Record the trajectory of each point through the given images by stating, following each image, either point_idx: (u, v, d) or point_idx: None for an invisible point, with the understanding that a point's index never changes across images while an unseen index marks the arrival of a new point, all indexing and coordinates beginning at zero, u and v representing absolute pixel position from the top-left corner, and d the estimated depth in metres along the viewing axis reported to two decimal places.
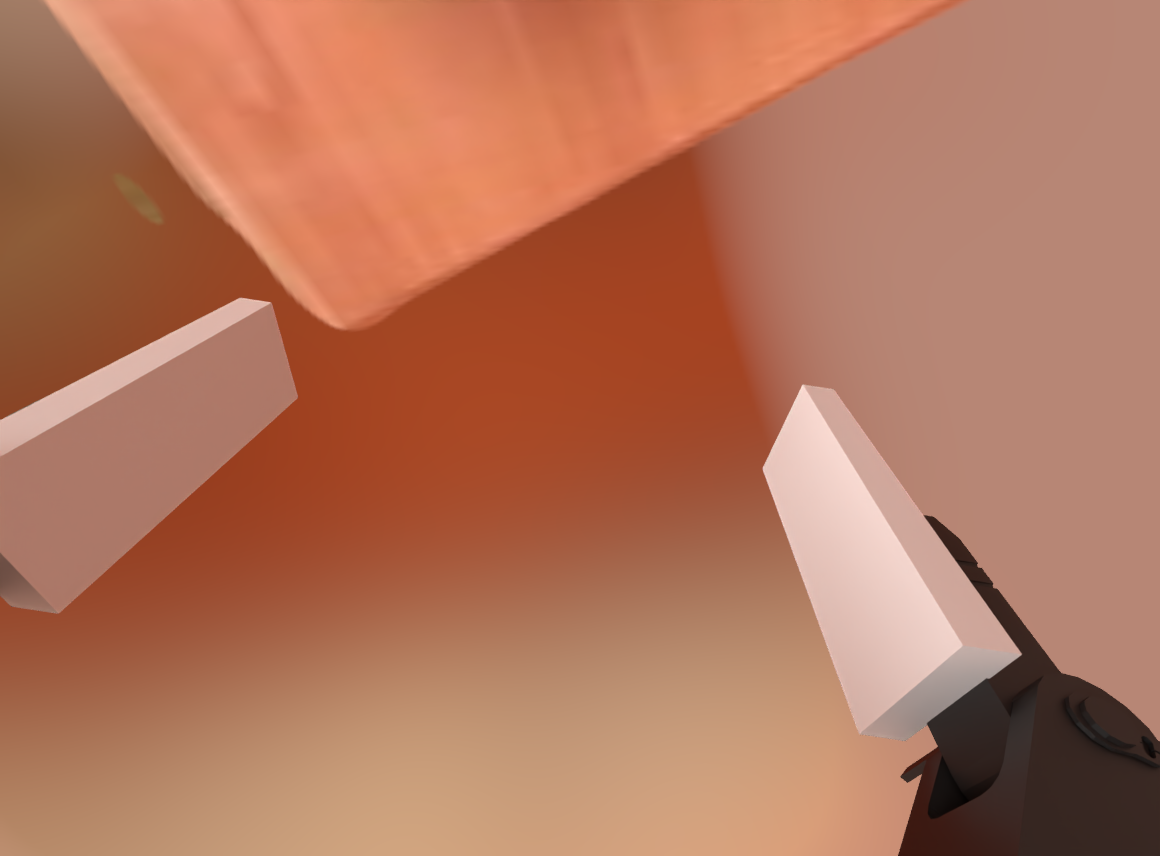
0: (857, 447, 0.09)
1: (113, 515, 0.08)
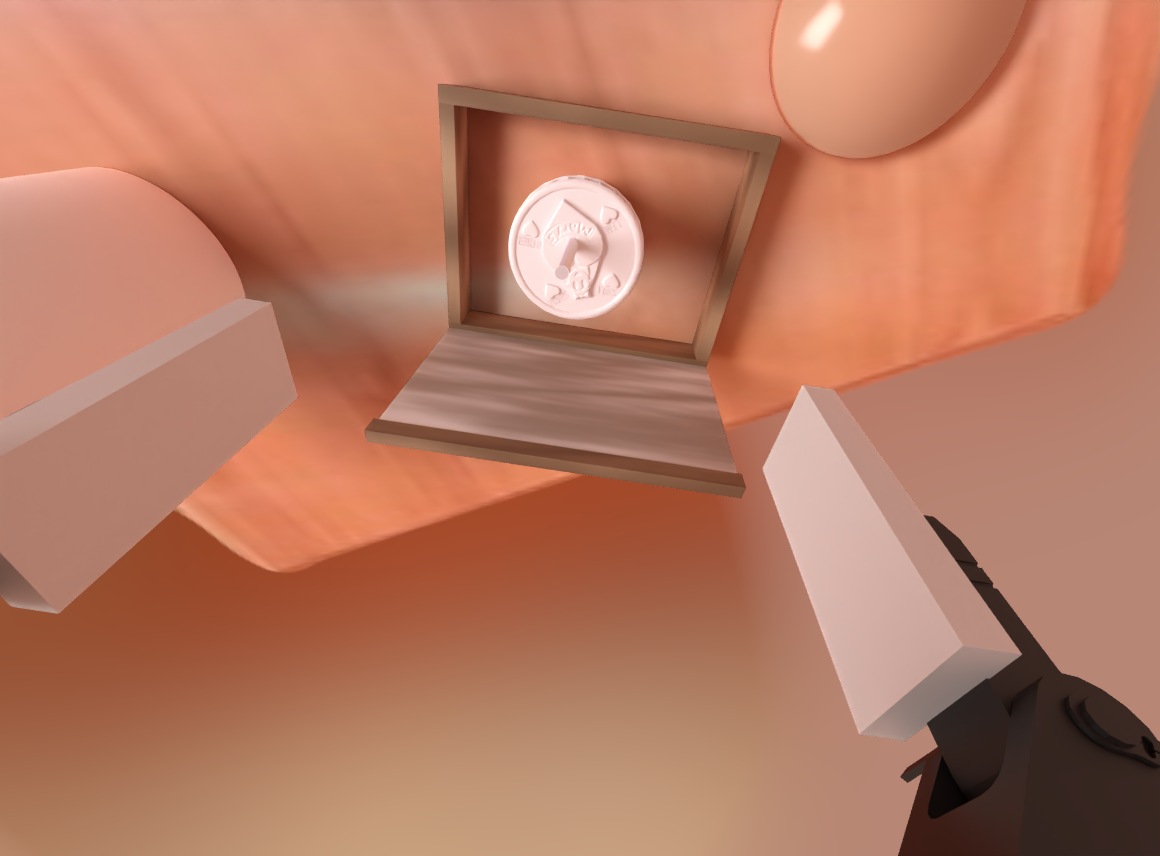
0: (857, 447, 0.09)
1: (113, 515, 0.08)
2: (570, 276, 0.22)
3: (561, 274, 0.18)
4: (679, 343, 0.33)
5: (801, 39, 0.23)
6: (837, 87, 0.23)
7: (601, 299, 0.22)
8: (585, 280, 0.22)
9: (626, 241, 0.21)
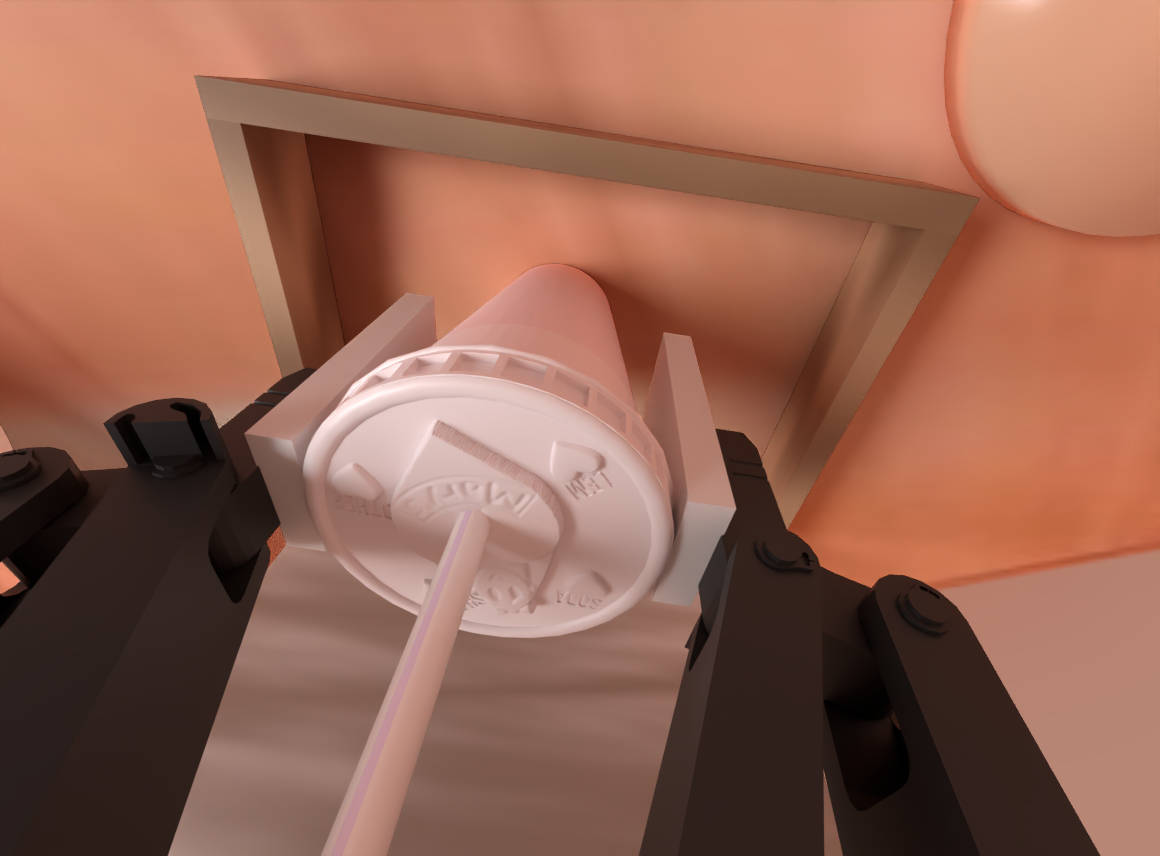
0: (685, 376, 0.11)
1: None
2: (479, 579, 0.08)
3: None
4: None
5: None
6: (1116, 85, 0.10)
7: (564, 611, 0.09)
8: (519, 587, 0.08)
9: (625, 510, 0.08)
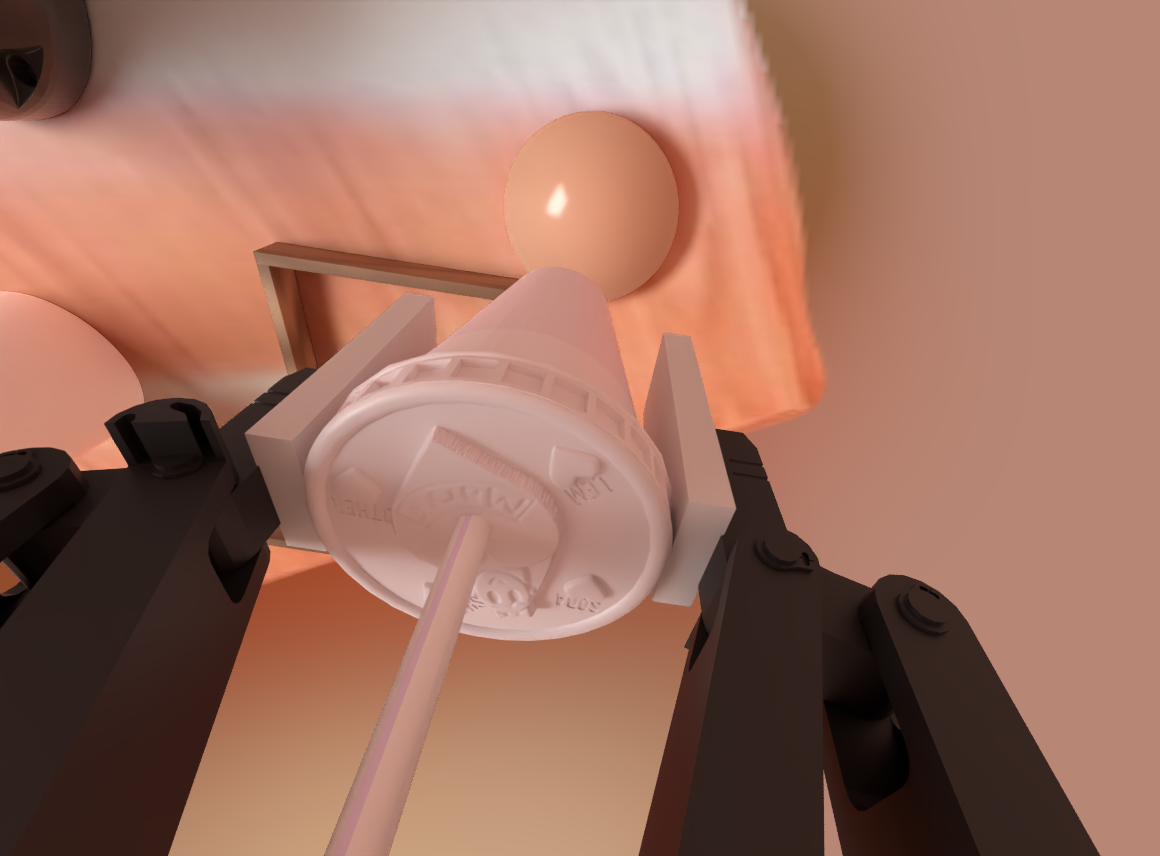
0: (685, 376, 0.11)
1: None
2: (479, 583, 0.08)
3: None
4: None
5: (523, 224, 0.29)
6: (559, 255, 0.30)
7: (563, 614, 0.09)
8: (519, 590, 0.08)
9: (624, 514, 0.08)
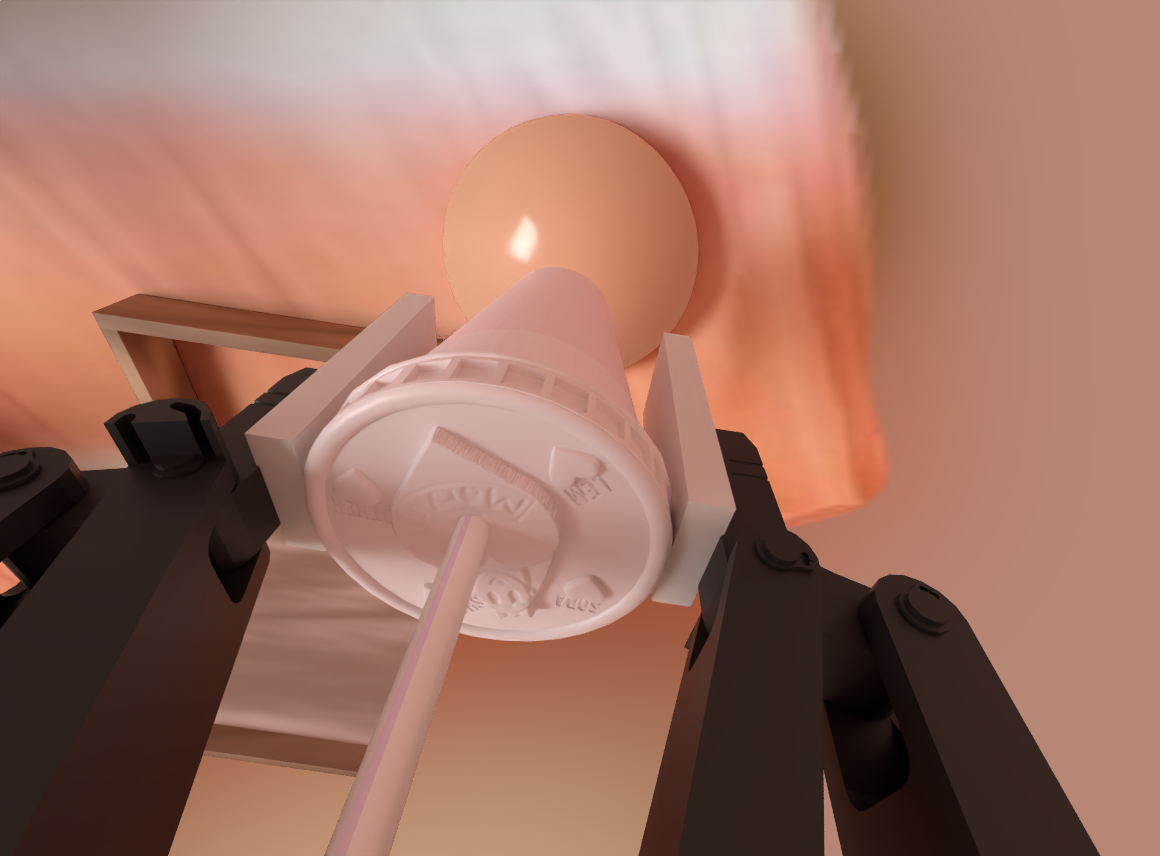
0: (685, 376, 0.11)
1: None
2: (479, 584, 0.08)
3: None
4: None
5: (473, 276, 0.20)
6: None
7: (563, 615, 0.09)
8: (519, 591, 0.08)
9: (624, 515, 0.08)
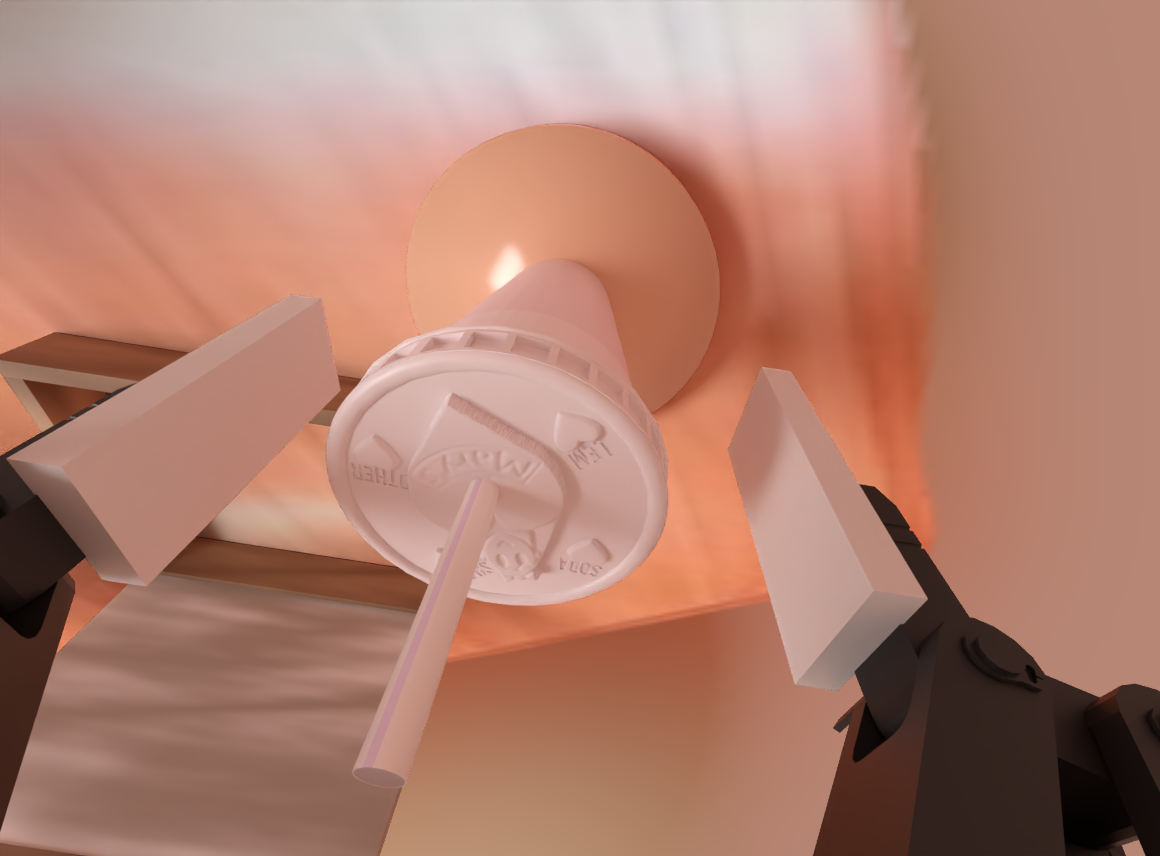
0: (805, 422, 0.10)
1: (191, 496, 0.08)
2: (488, 546, 0.09)
3: (385, 768, 0.05)
4: None
5: (444, 319, 0.17)
6: None
7: (566, 578, 0.10)
8: (525, 553, 0.09)
9: (623, 479, 0.08)
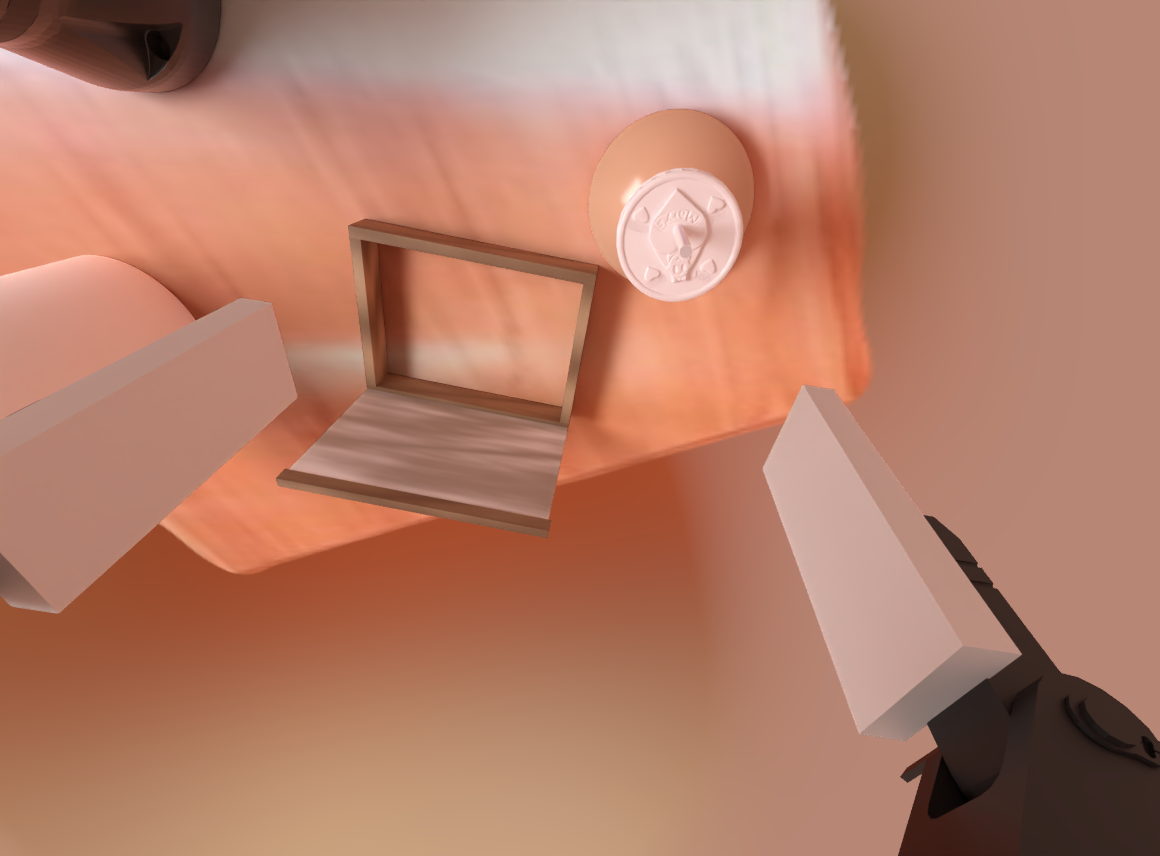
0: (857, 447, 0.09)
1: (113, 515, 0.08)
2: (672, 260, 0.24)
3: (685, 253, 0.19)
4: (552, 406, 0.42)
5: (605, 211, 0.32)
6: None
7: (696, 283, 0.24)
8: (685, 264, 0.24)
9: (726, 230, 0.23)
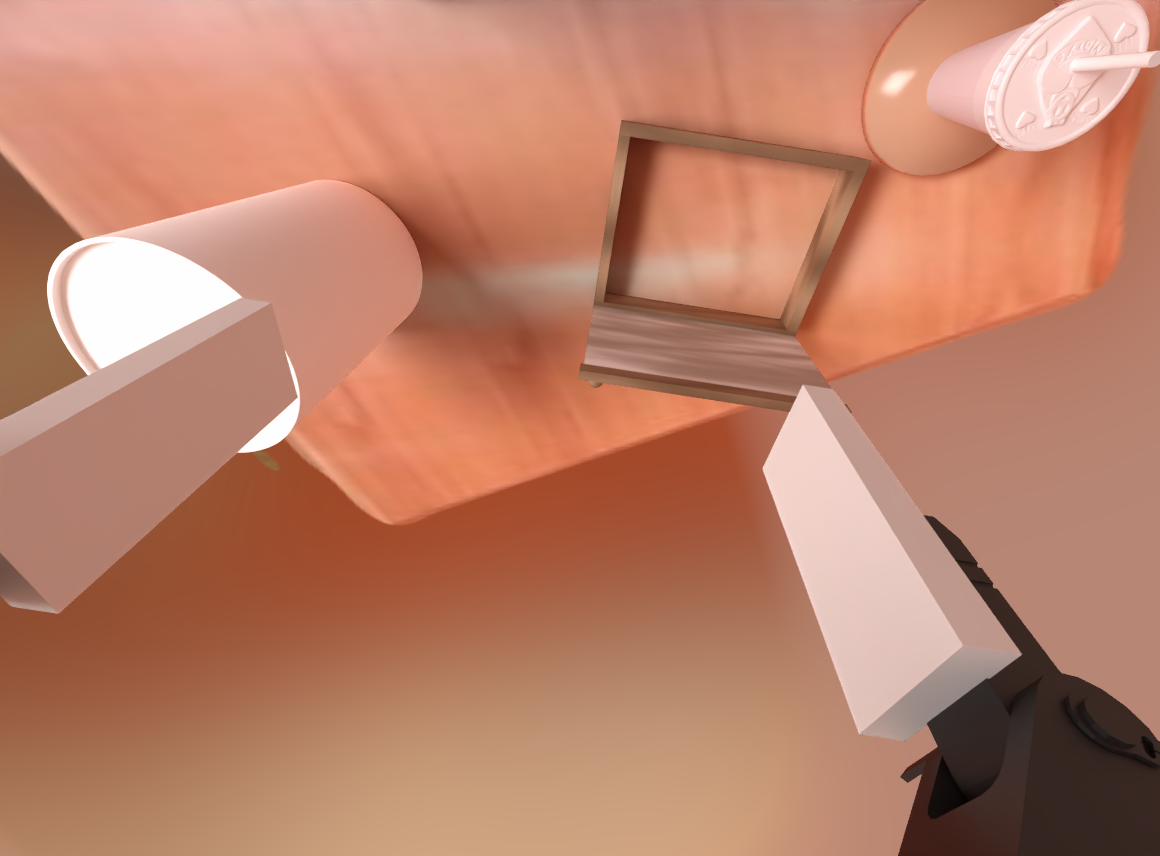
0: (857, 447, 0.09)
1: (113, 515, 0.08)
2: (1057, 100, 0.23)
3: (1152, 61, 0.19)
4: (770, 318, 0.42)
5: (889, 91, 0.31)
6: (912, 125, 0.32)
7: (1070, 127, 0.24)
8: (1069, 105, 0.23)
9: None
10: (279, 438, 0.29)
